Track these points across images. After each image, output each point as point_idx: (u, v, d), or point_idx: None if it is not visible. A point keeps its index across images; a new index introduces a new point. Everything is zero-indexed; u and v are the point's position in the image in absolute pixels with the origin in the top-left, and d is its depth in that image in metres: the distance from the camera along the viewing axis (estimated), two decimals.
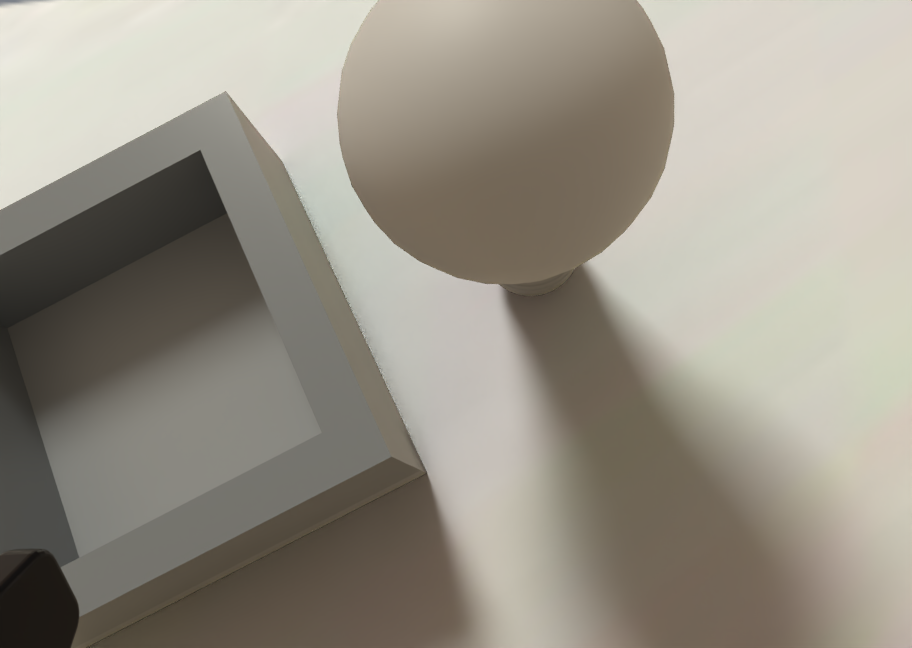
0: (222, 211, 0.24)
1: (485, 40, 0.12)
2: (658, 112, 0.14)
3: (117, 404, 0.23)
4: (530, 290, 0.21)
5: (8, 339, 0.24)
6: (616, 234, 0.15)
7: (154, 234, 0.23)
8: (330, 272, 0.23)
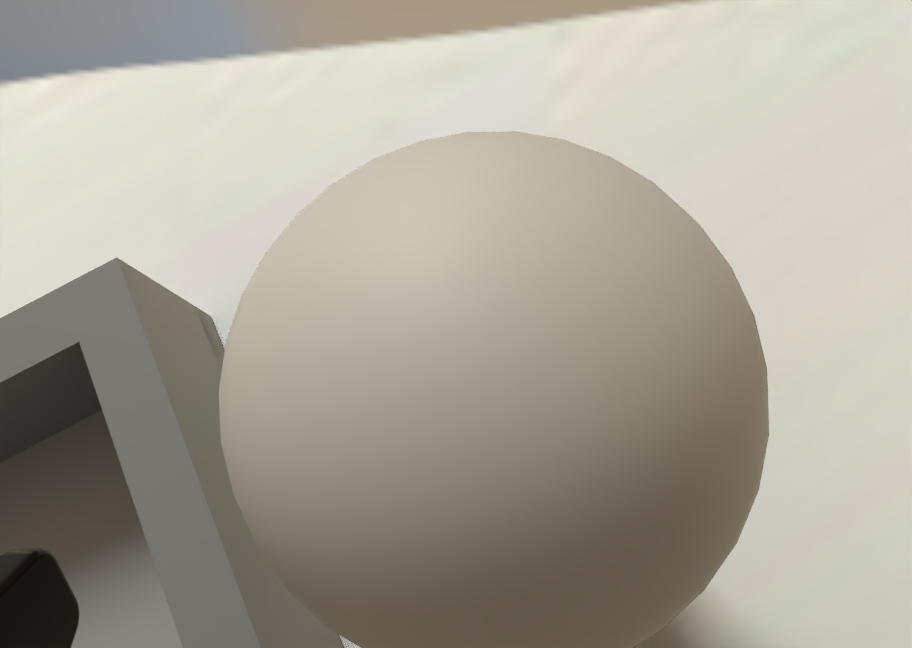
0: None
1: (451, 375, 0.07)
2: (753, 451, 0.08)
3: None
4: None
5: None
6: None
7: (35, 428, 0.18)
8: None
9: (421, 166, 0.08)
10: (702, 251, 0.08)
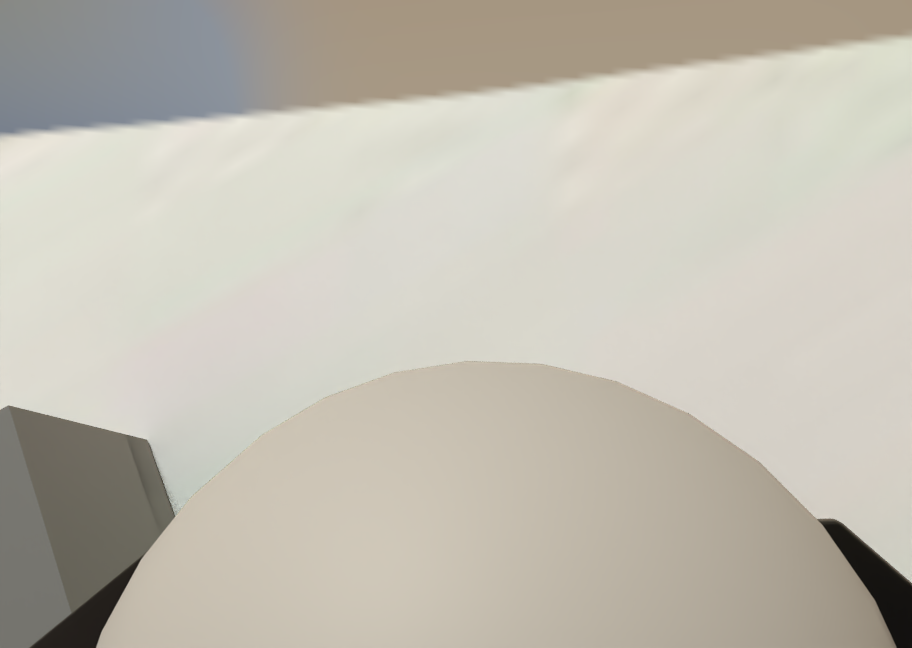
0: None
1: None
2: None
3: None
4: None
5: None
6: None
7: None
8: None
9: (383, 494, 0.05)
10: (853, 630, 0.05)
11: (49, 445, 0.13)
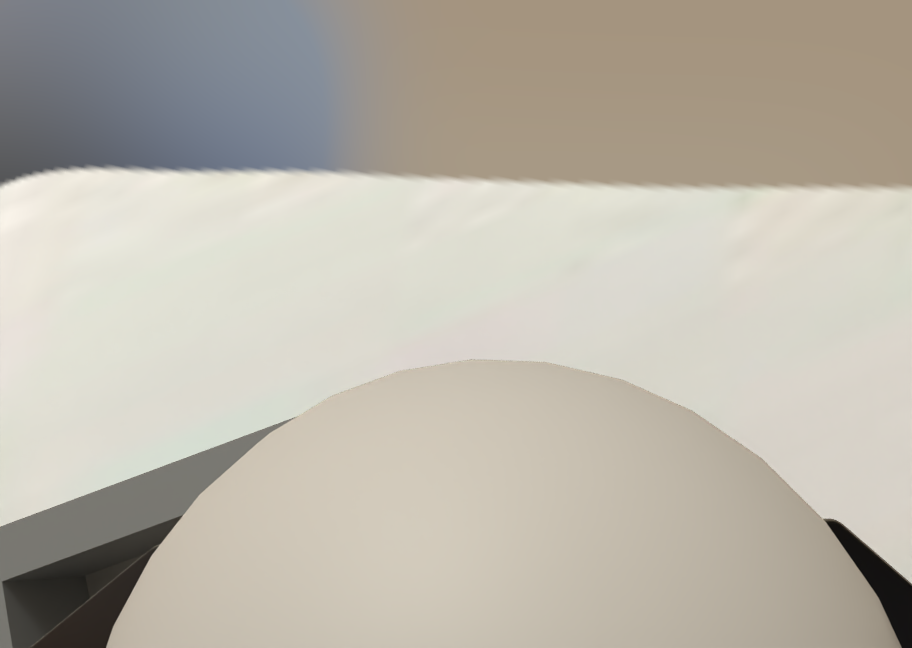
0: None
1: None
2: None
3: None
4: None
5: (85, 591, 0.21)
6: None
7: None
8: None
9: (384, 492, 0.05)
10: (853, 627, 0.05)
11: None
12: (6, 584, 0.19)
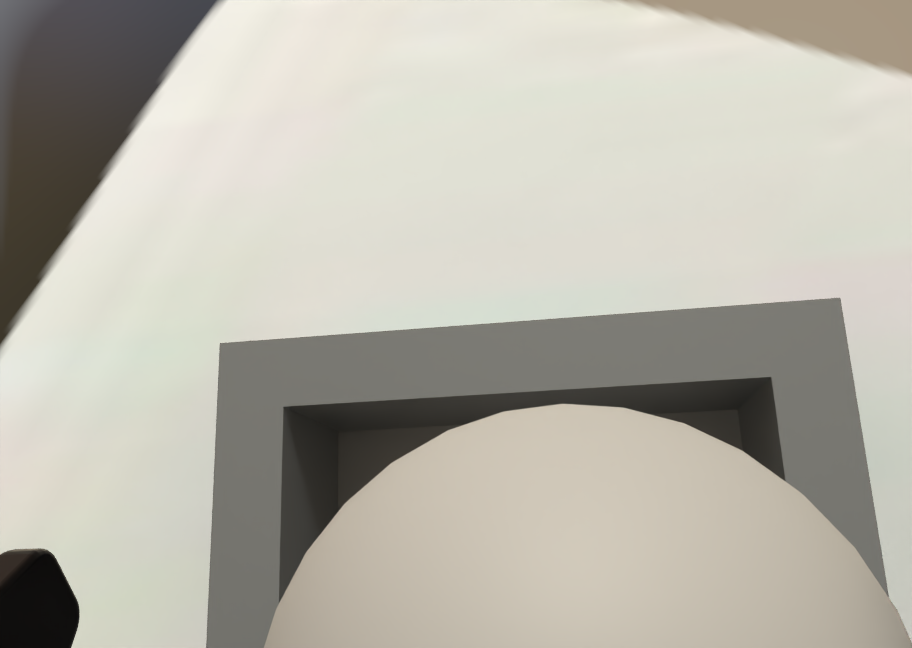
0: (695, 410, 0.16)
1: None
2: None
3: None
4: None
5: (336, 451, 0.17)
6: None
7: None
8: None
9: (517, 525, 0.06)
10: (881, 636, 0.06)
11: None
12: (286, 412, 0.14)
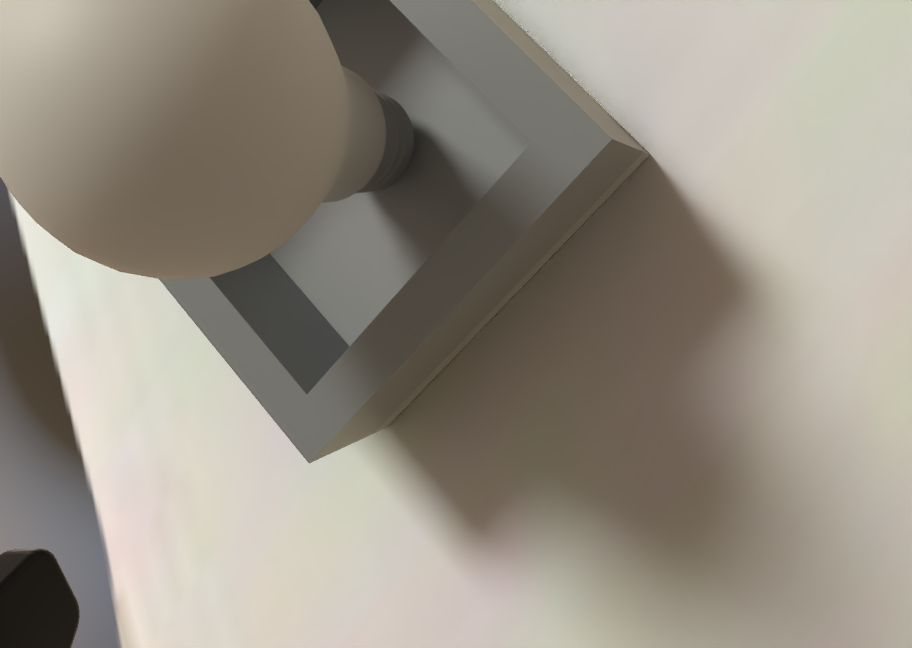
0: None
1: (39, 96, 0.12)
2: (242, 5, 0.12)
3: None
4: (389, 178, 0.20)
5: None
6: (323, 124, 0.14)
7: None
8: None
9: None
10: None
11: None
12: None
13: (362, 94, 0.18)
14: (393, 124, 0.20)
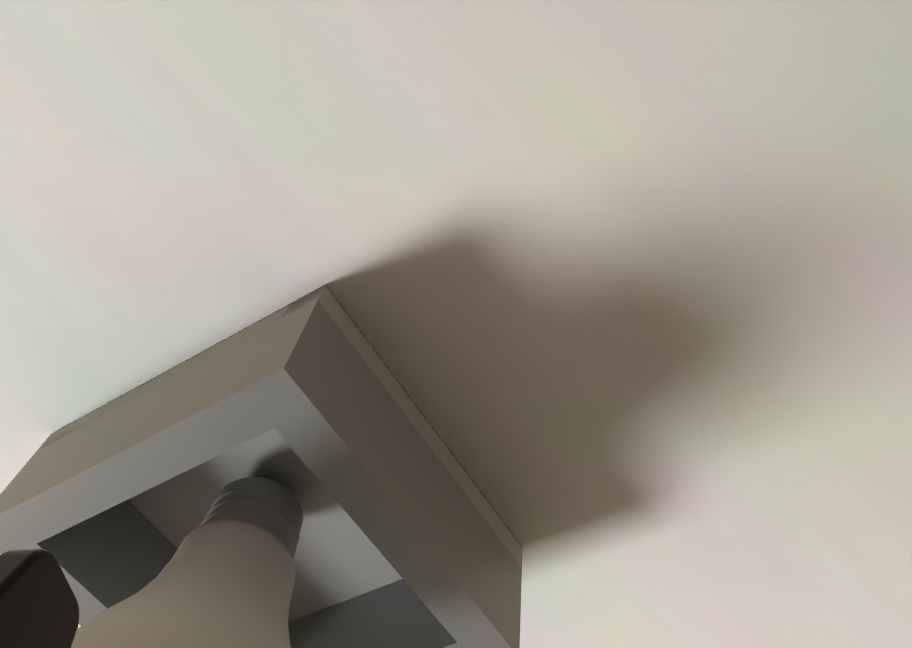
0: None
1: None
2: None
3: (308, 549, 0.25)
4: (291, 513, 0.23)
5: None
6: None
7: (144, 544, 0.25)
8: (145, 389, 0.23)
9: None
10: None
11: (1, 502, 0.22)
12: None
13: (204, 545, 0.20)
14: (244, 504, 0.22)
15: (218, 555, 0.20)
